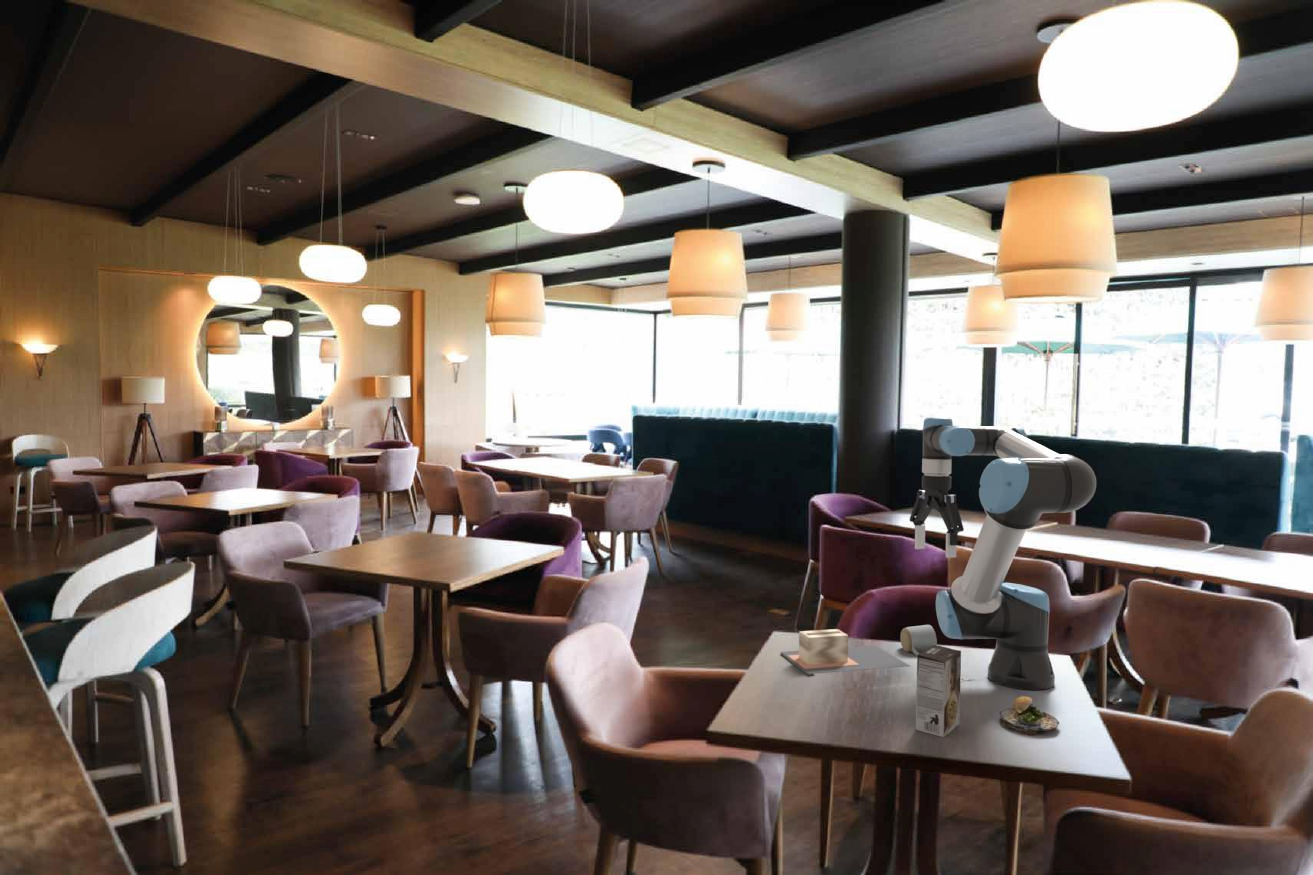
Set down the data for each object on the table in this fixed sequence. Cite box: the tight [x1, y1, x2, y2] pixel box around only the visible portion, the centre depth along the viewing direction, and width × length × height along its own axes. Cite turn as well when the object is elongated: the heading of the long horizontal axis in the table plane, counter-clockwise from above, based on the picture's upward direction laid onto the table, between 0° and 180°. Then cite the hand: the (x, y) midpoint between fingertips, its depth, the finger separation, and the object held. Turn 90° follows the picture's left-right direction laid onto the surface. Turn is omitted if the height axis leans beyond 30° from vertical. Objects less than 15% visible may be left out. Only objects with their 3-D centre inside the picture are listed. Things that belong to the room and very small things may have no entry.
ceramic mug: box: [900, 624, 938, 657], centre depth 229 cm, size 10×8×7 cm
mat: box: [780, 644, 911, 677], centre depth 223 cm, size 18×28×1 cm, turn 104°
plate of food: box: [998, 688, 1060, 736], centre depth 181 cm, size 12×12×8 cm
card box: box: [798, 628, 849, 665], centre depth 221 cm, size 11×6×7 cm, turn 104°
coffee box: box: [915, 644, 962, 738], centre depth 179 cm, size 9×6×16 cm
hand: (934, 553), depth 230 cm, fingers open, 13 cm apart
